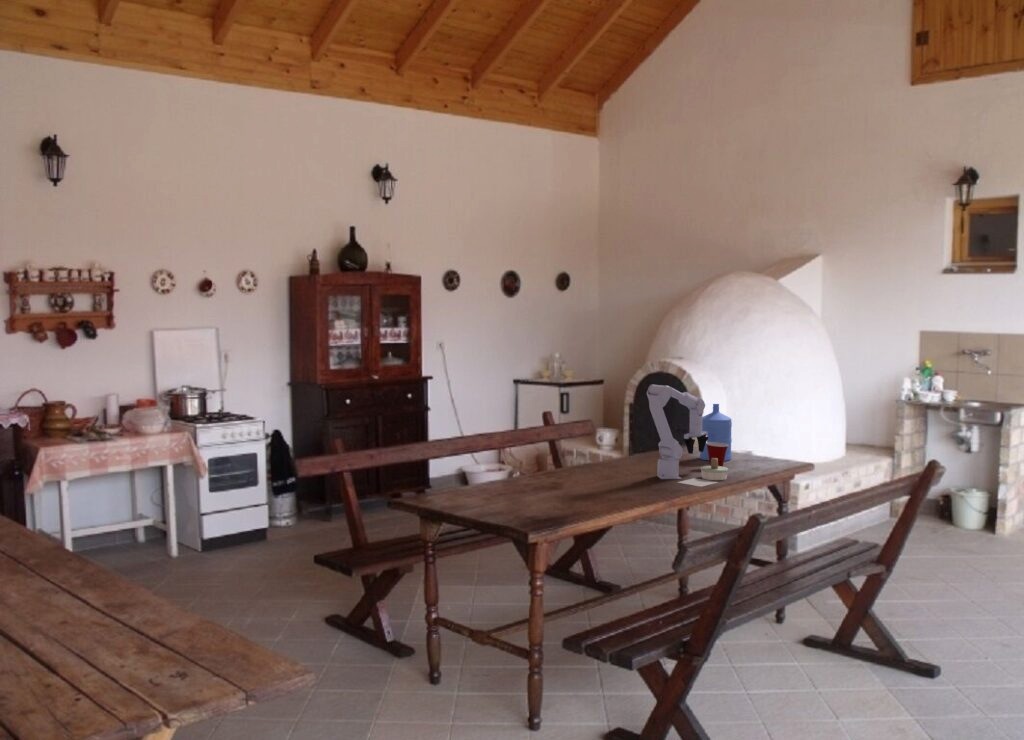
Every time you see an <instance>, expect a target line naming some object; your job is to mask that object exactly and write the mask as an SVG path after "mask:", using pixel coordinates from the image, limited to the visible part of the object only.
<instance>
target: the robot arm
mask: <svg viewBox="0 0 1024 740" xmlns="http://www.w3.org/2000/svg"><path fill="white" fill-rule="evenodd" d="M646 396H647V399H648V404H649V405H648V406H649V411H650V413H651V416H652V420H653V422H654V426H655V427H656V430H657V433H658V436H659V439H660V441H659V442H658V450H659V451H658V453H659V455H660V456H661V458H658V459H657V472H656V474H657V477H658V478H659V479H660V480H675V479H676V480H677V479H678V480H679V479H682V477H681V476H679V475H680V470H679V469H680V466H679V465H680V460H681V458H682V457H683V454H684V452H683V450H684V449H683V447H682V446H681V445H680V444H679V443H680V442H679V441H677V439H675V438H674V437H673V434H672V431H671V427H670V425H669V423H668V419H667V417H666V414H665V411H664V409H663V408H664V407H665V406H666V405H667V403H668V402H669V400H670V399H671V398H672V399H673V398H674V399H676V400H678V403H679V404H680V405H683V406H685V407H687V409H688V410H689V432H687V433H685V434H683V438H682V439H683V442H684V443H685V447H686V448H687V453H688V454H689V455H690V454H691V455H692V454H694V447H695V446H694V444H695V442H696V440H697V444H698V445H697V447H698V451H699V452H703V451H704V447H705V444H706V442H707V440H708V437H707V436H708V432H706V431H702V417H703V414H704V411H705V408H706V403H705V401H704V400H703V399H702V398H701V397H699V398H698V397H697V396H696V395H694V394H693V395H692V394H690V392H689V391H684V392H680V391H679V390H677V389H676V388H673V387H672V386H669V385H663V384H660V385H659V384H654V383H653V384H650V385H649V386H648V388H647V391H646ZM695 438H696V439H695Z"/></svg>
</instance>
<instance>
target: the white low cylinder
mask: <svg viewBox="0 0 1024 740" xmlns="http://www.w3.org/2000/svg"><path fill="white" fill-rule="evenodd" d="M700 471H701V470H700ZM701 478H702V479H703V480H709V481H725V480H727V479H728V472H723V473H710V472H704V471H701Z"/></svg>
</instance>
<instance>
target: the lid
mask: <svg viewBox="0 0 1024 740" xmlns="http://www.w3.org/2000/svg"><path fill="white" fill-rule="evenodd" d="M700 471H704V472H710V473H723V472H727V473H728V472H729V468H728V467H726V466H723V467H722V466H718V458H711V466H710V465H705V466H704V465H703V466H701V467H700Z"/></svg>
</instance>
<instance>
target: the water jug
mask: <svg viewBox="0 0 1024 740" xmlns="http://www.w3.org/2000/svg"><path fill="white" fill-rule="evenodd" d="M732 424H733V422H732V417H730V416H727V415H725V414H724V413H721V412H720V403H712V412H709V413H708V414H706V415H702V431H706V432H708V436H707V437H708V440H707V442H718V443H724V444H728V445H729V446H728V447H727V450H726V454H725V459H724V462H727V461H730V460H731V459H732V442H733V438H732V426H733V425H732ZM699 452H700V451H699ZM699 459H701V460H702V459H703V461H706V460H708V461H707V462H710V461H709V455H708V449H707V444H705V447H704V451H703V452H700V453H699Z"/></svg>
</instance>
